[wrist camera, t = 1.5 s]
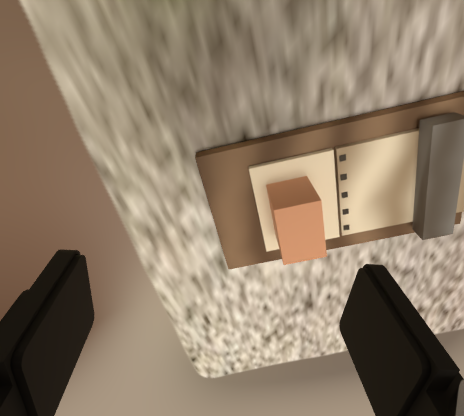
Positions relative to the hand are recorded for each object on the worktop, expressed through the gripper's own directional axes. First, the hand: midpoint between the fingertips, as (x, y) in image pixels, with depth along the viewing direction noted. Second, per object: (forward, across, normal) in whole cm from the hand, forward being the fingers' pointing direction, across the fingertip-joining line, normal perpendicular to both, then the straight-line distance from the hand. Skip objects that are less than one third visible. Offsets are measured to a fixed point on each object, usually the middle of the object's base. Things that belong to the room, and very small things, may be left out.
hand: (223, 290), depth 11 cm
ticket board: (+22, -12, +5) cm, 26 cm away
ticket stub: (+20, -8, +7) cm, 23 cm away
